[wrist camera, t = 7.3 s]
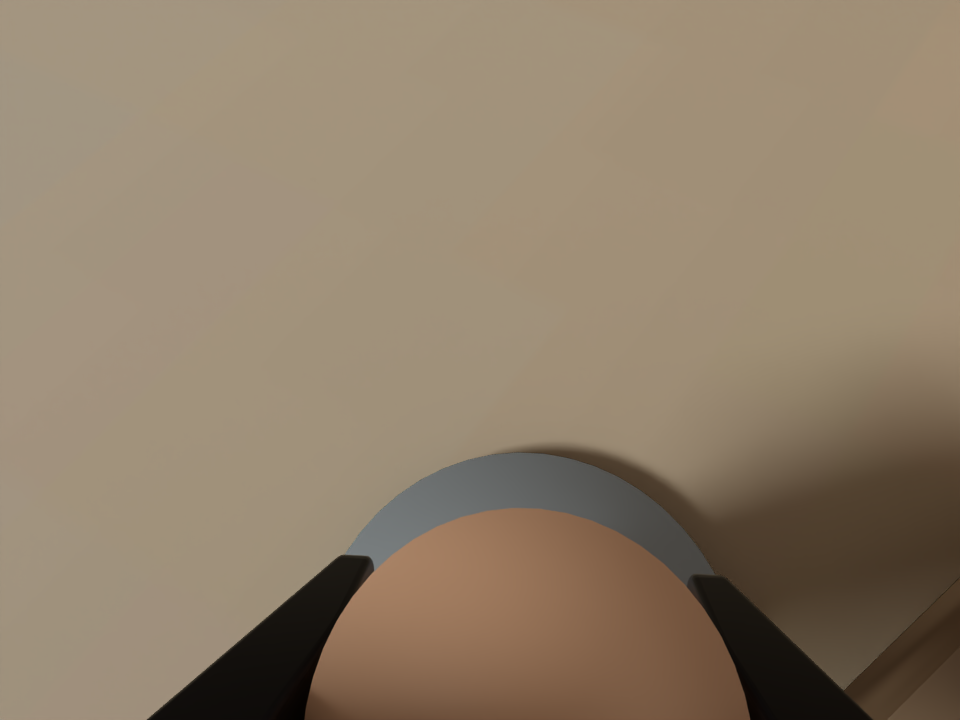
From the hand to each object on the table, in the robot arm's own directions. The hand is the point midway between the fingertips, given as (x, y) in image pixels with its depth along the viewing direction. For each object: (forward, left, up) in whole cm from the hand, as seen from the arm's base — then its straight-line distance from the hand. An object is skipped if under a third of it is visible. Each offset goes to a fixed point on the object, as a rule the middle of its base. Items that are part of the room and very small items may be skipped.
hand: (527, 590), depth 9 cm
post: (-1, -1, -7) cm, 7 cm away
